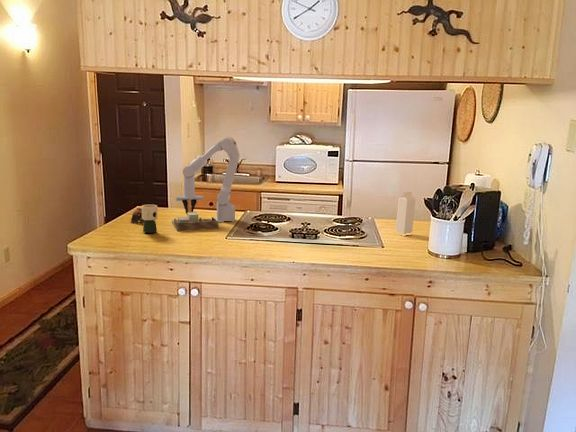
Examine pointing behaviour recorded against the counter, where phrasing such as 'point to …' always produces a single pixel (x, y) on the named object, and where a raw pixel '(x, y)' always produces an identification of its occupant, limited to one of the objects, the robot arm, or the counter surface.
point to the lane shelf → (196, 225)
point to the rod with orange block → (192, 215)
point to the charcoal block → (183, 219)
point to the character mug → (149, 218)
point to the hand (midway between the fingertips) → (189, 213)
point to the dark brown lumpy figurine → (137, 216)
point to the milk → (405, 213)
